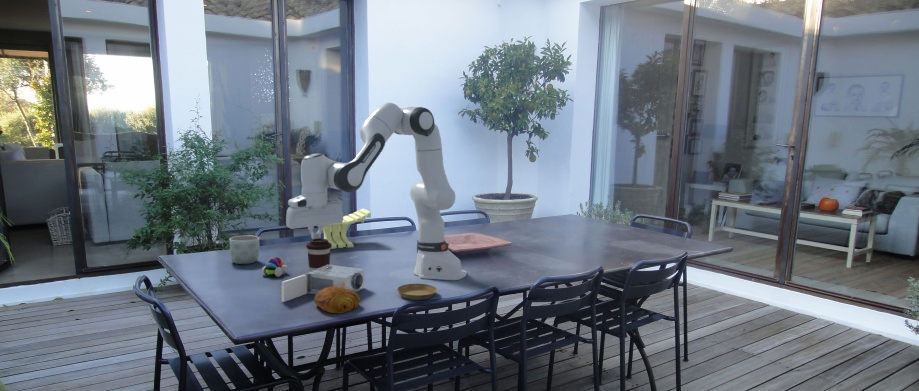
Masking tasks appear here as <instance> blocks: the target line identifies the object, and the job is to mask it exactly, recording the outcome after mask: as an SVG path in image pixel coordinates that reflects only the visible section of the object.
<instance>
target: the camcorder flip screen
mask: <svg viewBox="0 0 919 391" xmlns="http://www.w3.org/2000/svg"><path fill="white" fill-rule="evenodd" d="M307 294H310V293H309V286H308V272H306V273H304V274H301V275H299V276H296V277H292V278H289V279H287V280H284V281H281V287H280V295H281V302H282V303H285V302H288V301H292V300H293V299H297V298H298V297H301V296H303V295H307Z"/></svg>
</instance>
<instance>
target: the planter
mask: <svg viewBox="0 0 919 391" xmlns="http://www.w3.org/2000/svg"><path fill="white" fill-rule="evenodd" d="M229 252H230V258H231V261H232V262H233V263H234V264H237V265H247V264H248V265H249V264H253V263H255V262H257V261H258V260H259V255H260V236H257V235H238V236H237V235H236V236H232V237H229Z"/></svg>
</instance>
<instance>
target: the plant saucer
mask: <svg viewBox="0 0 919 391" xmlns="http://www.w3.org/2000/svg"><path fill="white" fill-rule="evenodd" d="M437 290H438V289H437V287H435V286H434V285H432V284H431V285H430V284H427V283H407V284H402V285H400V286H398V287H397V289H396V291H397V292H398V293H399V295H400V296H401V297H403V298H404V299H407V300H411V301H412V300H415V301H421V300H427V299H429V298H431V297H432V296H434V295H435V294H436V292H438V291H437Z"/></svg>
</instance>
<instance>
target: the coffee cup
mask: <svg viewBox="0 0 919 391" xmlns="http://www.w3.org/2000/svg"><path fill="white" fill-rule="evenodd" d="M331 247H332V244H331V243H330V242H328V240H327V239H324V238H315V239H312V238H311V240H310V241H309V242H307V243H306V247H305V248H306V249H307V260H308V261H307V262H308V267H309V272H311V271H313V270H316V269H318V268H320V267H323V266H325V265H331V264H330V263H331V260H330V259H331V249H330V248H331Z"/></svg>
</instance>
